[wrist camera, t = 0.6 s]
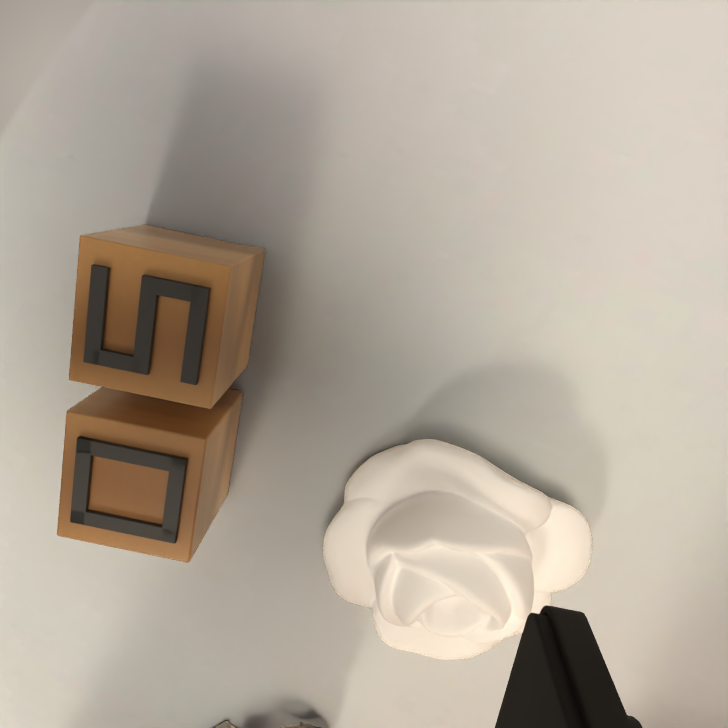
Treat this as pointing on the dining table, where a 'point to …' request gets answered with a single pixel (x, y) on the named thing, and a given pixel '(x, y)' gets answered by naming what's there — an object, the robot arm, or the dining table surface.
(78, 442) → the letter block O
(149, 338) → the letter block S
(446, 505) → the rose
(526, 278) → the dining table surface
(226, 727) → the meal
